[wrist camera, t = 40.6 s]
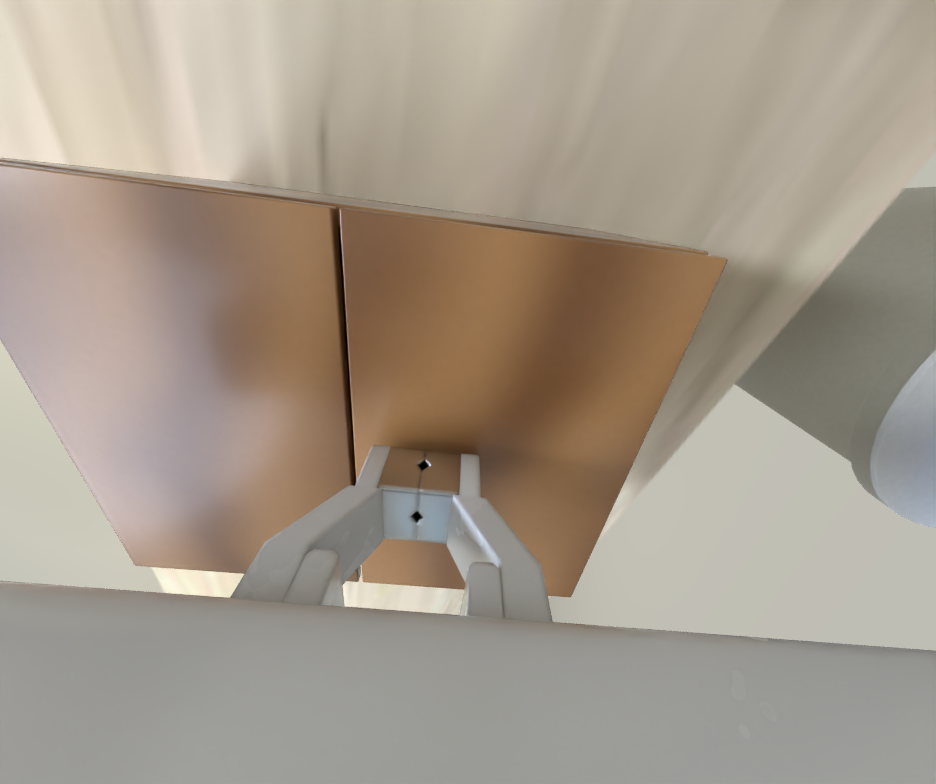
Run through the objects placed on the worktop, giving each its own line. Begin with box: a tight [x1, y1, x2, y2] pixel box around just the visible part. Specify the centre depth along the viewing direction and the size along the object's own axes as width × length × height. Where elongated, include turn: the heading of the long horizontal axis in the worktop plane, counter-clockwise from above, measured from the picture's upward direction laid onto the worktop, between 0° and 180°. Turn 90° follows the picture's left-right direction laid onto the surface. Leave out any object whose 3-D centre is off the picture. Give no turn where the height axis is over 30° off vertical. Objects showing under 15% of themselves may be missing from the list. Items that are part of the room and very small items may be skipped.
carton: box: [0, 158, 708, 582], centre depth 14 cm, size 17×13×10 cm
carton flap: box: [339, 208, 727, 597], centre depth 10 cm, size 8×13×1 cm, turn 173°
